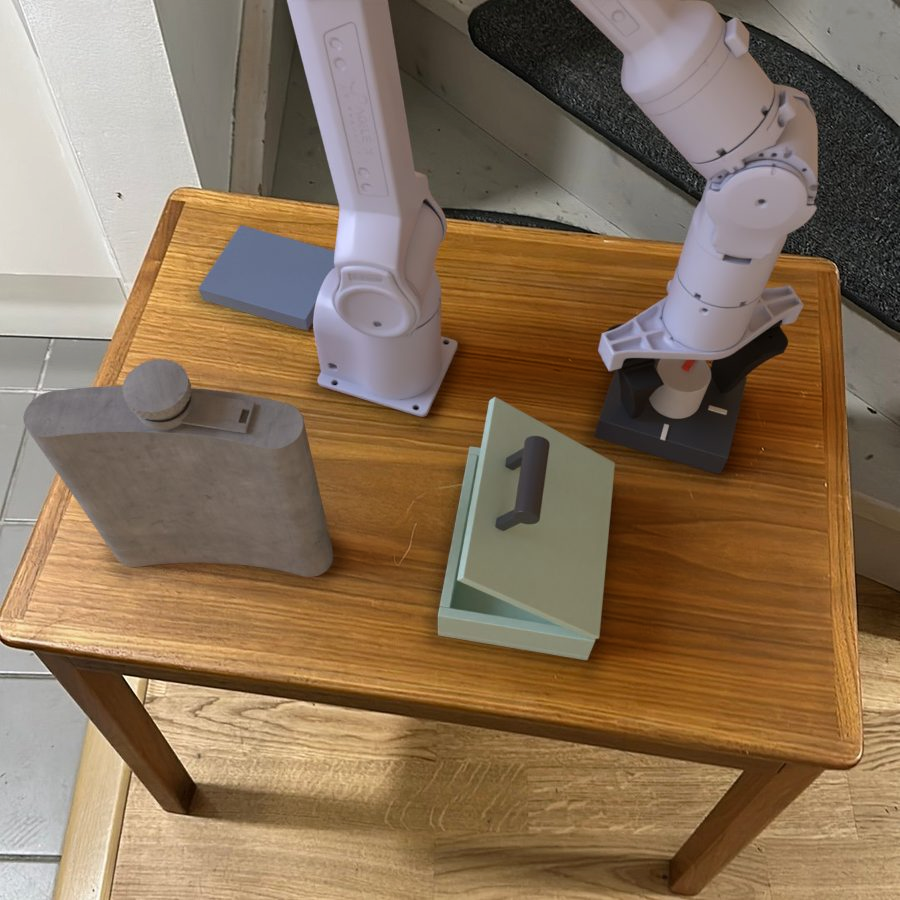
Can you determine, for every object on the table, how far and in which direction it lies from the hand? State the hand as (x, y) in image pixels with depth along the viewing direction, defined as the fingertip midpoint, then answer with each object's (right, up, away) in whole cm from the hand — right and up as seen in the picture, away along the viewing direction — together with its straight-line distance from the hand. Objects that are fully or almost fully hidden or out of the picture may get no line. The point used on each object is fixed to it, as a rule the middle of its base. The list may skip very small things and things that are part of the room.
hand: (675, 395), depth 71 cm
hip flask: (-34, -11, -4) cm, 36 cm away
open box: (-12, -12, -4) cm, 18 cm away
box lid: (-11, -9, -10) cm, 18 cm away
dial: (0, 0, 0) cm, 0 cm away
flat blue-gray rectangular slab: (-33, +10, +9) cm, 36 cm away
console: (0, -1, +2) cm, 3 cm away
